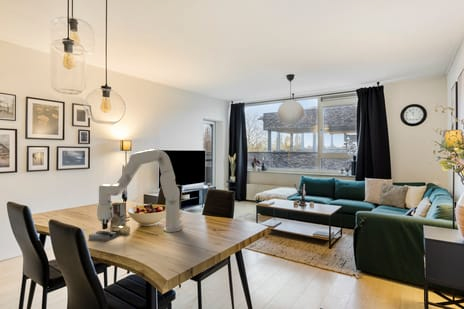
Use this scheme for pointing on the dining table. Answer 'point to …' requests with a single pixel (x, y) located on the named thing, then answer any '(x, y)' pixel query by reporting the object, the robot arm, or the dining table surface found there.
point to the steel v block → (102, 236)
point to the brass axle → (121, 229)
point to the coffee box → (119, 214)
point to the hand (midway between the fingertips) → (105, 228)
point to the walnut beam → (116, 232)
